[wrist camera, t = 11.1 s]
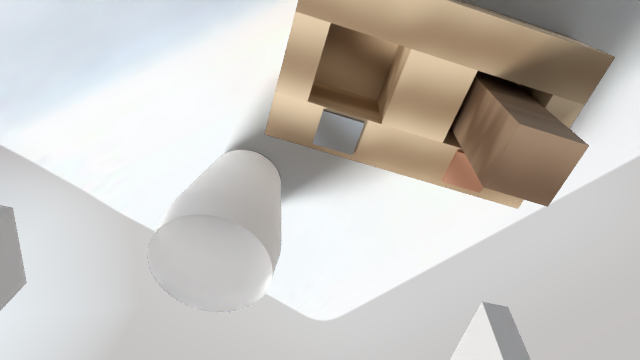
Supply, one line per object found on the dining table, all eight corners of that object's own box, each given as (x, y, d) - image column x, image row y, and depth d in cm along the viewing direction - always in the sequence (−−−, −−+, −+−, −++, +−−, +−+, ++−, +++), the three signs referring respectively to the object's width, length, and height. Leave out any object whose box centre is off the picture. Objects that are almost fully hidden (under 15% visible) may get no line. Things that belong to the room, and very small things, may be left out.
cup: (306, 155, 38) (291, 236, 28) (278, 231, 43) (256, 327, 32) (208, 122, 37) (154, 194, 27) (189, 204, 42) (137, 293, 31)
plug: (464, 64, 33) (519, 123, 22) (512, 80, 33) (589, 145, 23) (442, 112, 35) (483, 187, 24) (487, 126, 35) (547, 206, 24)
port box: (316, -49, 30) (309, -46, 25) (571, 38, 32) (617, 58, 27) (276, 105, 36) (263, 135, 31) (494, 171, 38) (519, 210, 32)
